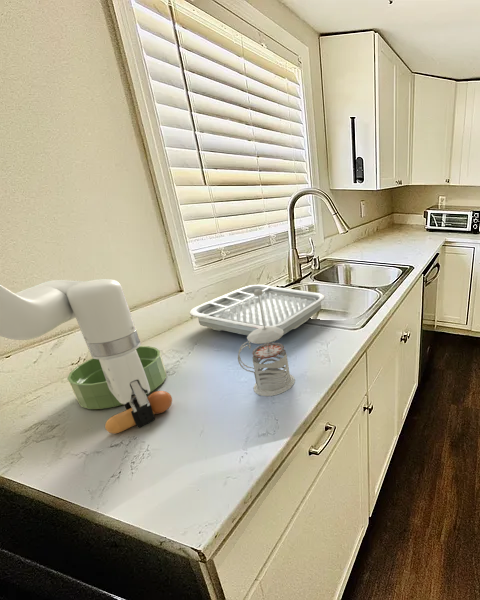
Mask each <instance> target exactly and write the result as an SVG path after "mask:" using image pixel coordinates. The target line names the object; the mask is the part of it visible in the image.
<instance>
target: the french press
mask: <svg viewBox="0 0 480 600" xmlns="http://www.w3.org/2000/svg"><path fill="white" fill-rule="evenodd" d="M262 294H263V292H262V290H260V289H256V290H255V291H254V295H255V296H258V298H259V295H262ZM259 303H260V298H259ZM260 309H261V303H260ZM261 314H262V309H261ZM262 320H263V314H262ZM263 325H264V320H263ZM283 333H284V331H283V329H280V328H278V327H273V326H266V327H265V325H264V327H261V328H259V329H256V330H254V331H253V332H251V333H250V334H249V335H247V336H246V339H247V341H246V342H244V343H242V344H241V346H240V347H239V349H238V354H237V361H238V364H239V366H240V367H241V368H242V369H243V370H245V371H246V372H250V373H253V375H254V380H255V383H254V385H253V392H254V394H256V395H258V396H262V397H273V396H277V395H280V394H284V393H285V392H288V390H290V389H291V388H292V387H293V386H294V384H295V381H296V379H295V377H294V376H293V374H290V373H291V372H290V367H289V361H288V355H287V351H286V349H285V346H284V344H282V343H280V342H276V341H279V340H280V339H281V338H282V337H283V336H284V335H283ZM247 343H248V344H247ZM251 344H253V345H255V344H256V345H258V346H256V347H255V348H254V349H253V350H252V353H251V354H252V364H253V367H252V366H248V365H246V364H245V363H244V362H243V361H242V359H241V352H242V350H244V348H246V347H248V349H249V350H251V348H252V345H251ZM280 356H281V357H280ZM274 358H275V359H274ZM245 367H246V368H245ZM247 368H248V369H247ZM249 369H253V370H249Z"/></svg>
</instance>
